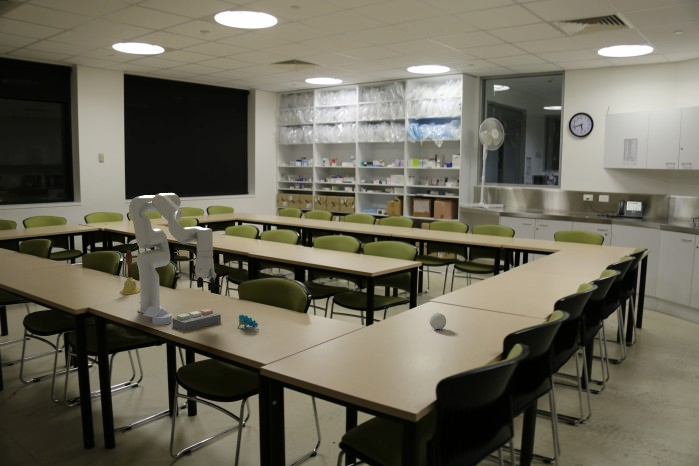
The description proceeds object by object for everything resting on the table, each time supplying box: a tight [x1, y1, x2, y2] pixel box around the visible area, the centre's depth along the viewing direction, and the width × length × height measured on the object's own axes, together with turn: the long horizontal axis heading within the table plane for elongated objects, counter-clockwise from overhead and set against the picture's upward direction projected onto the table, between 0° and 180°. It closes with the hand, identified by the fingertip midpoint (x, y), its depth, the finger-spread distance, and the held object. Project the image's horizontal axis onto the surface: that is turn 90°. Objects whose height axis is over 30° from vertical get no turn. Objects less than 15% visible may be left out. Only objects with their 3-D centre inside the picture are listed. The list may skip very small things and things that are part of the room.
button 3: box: [199, 308, 214, 315], centre depth 267 cm, size 4×4×3 cm
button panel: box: [172, 311, 222, 332], centre depth 261 cm, size 10×20×4 cm, turn 138°
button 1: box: [176, 313, 190, 320], centre depth 258 cm, size 4×4×3 cm
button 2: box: [188, 310, 202, 318], centre depth 262 cm, size 4×4×3 cm
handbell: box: [119, 250, 140, 295], centre depth 324 cm, size 12×12×25 cm
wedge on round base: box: [142, 307, 173, 326], centre depth 266 cm, size 9×7×13 cm
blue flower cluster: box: [236, 314, 259, 331], centre depth 255 cm, size 11×6×10 cm
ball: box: [429, 312, 447, 330], centre depth 258 cm, size 8×8×8 cm
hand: (205, 288), depth 265 cm, fingers open, 9 cm apart
